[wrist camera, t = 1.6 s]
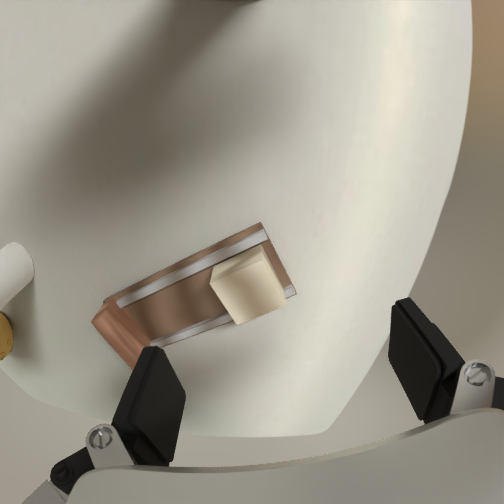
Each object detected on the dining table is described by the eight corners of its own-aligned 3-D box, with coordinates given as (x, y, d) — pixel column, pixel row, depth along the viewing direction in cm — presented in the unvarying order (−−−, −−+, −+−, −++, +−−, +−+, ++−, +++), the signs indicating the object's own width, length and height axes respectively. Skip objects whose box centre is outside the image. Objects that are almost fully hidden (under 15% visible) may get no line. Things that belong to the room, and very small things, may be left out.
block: (260, 244, 32) (262, 259, 29) (282, 286, 35) (286, 304, 31) (213, 266, 34) (209, 283, 30) (238, 305, 36) (237, 325, 32)
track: (260, 221, 33) (262, 241, 27) (295, 290, 36) (302, 318, 31) (105, 299, 37) (88, 323, 31) (146, 349, 40) (135, 376, 35)
